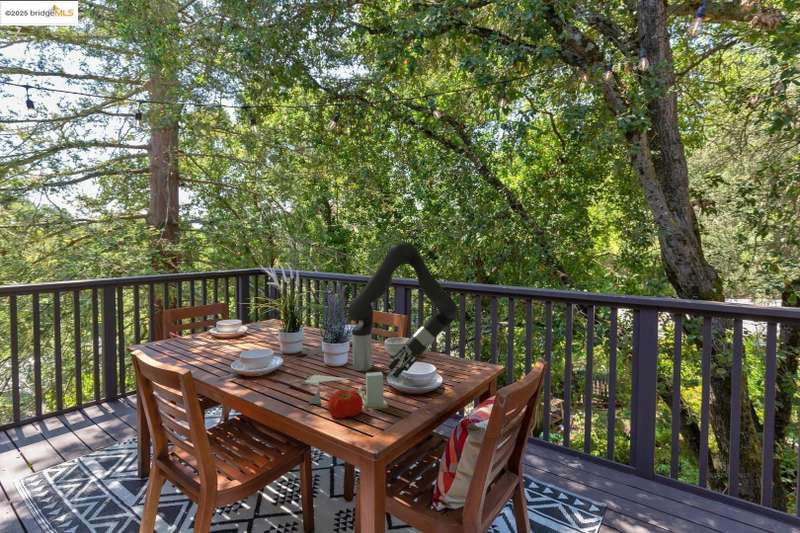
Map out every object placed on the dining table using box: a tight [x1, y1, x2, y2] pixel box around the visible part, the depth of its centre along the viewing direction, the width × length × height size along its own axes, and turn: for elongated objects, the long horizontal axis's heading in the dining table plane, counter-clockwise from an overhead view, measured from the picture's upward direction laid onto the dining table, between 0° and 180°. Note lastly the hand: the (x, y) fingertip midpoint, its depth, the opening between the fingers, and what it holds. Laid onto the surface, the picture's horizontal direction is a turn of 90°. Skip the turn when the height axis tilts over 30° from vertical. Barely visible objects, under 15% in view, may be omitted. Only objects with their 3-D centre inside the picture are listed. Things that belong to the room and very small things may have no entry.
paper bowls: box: [384, 337, 410, 357], centre depth 226 cm, size 15×15×8 cm
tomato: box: [327, 389, 363, 420], centre depth 152 cm, size 14×13×9 cm
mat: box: [308, 391, 322, 406], centre depth 168 cm, size 12×8×1 cm, turn 173°
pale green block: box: [365, 371, 384, 407], centre depth 159 cm, size 4×6×12 cm, turn 103°
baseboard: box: [301, 372, 350, 387], centre depth 184 cm, size 31×3×12 cm
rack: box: [357, 387, 390, 411], centre depth 165 cm, size 18×9×2 cm, turn 13°
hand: (391, 372), depth 160 cm, fingers open, 8 cm apart
